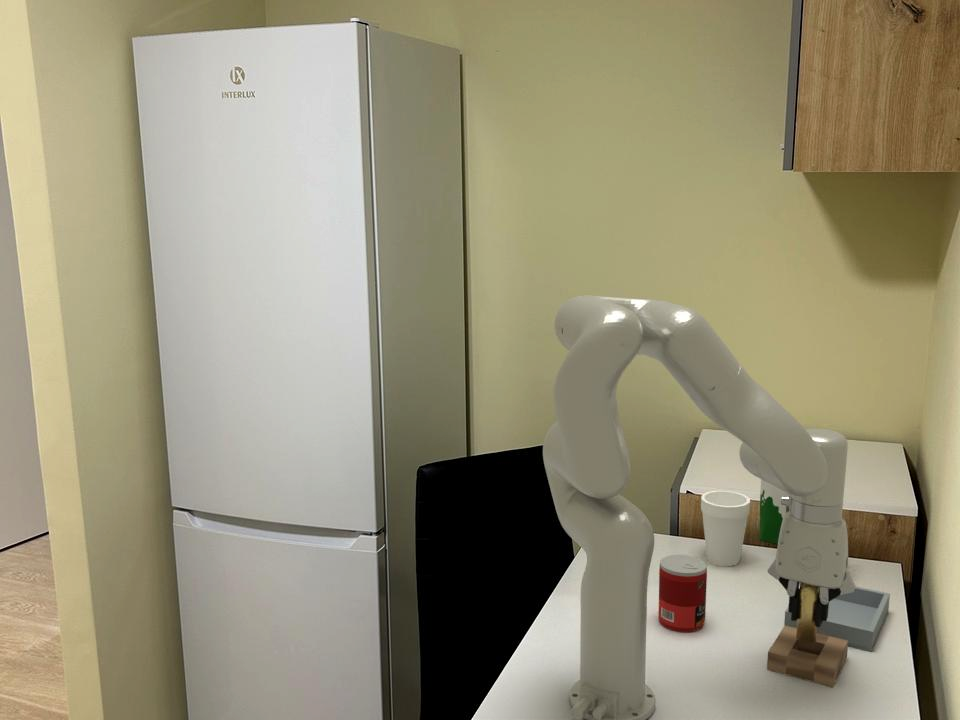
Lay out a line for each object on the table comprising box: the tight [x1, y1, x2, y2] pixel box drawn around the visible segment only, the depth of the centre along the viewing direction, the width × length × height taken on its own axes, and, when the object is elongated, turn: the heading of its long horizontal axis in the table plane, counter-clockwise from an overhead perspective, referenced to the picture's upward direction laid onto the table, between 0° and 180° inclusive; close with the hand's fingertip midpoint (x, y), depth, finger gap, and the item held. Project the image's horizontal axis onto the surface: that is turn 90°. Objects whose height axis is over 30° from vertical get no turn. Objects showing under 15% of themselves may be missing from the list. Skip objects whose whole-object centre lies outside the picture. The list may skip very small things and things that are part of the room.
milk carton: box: [759, 479, 791, 545], centre depth 196 cm, size 9×9×20 cm
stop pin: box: [796, 582, 820, 643], centre depth 146 cm, size 3×3×10 cm
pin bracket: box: [766, 626, 849, 688], centre depth 148 cm, size 10×10×3 cm
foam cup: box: [700, 490, 751, 567], centre depth 186 cm, size 10×9×13 cm
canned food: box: [658, 554, 708, 633], centre depth 161 cm, size 8×8×11 cm
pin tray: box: [783, 585, 891, 653], centre depth 162 cm, size 16×14×4 cm
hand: (807, 619), depth 147 cm, fingers closed on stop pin, 3 cm apart
